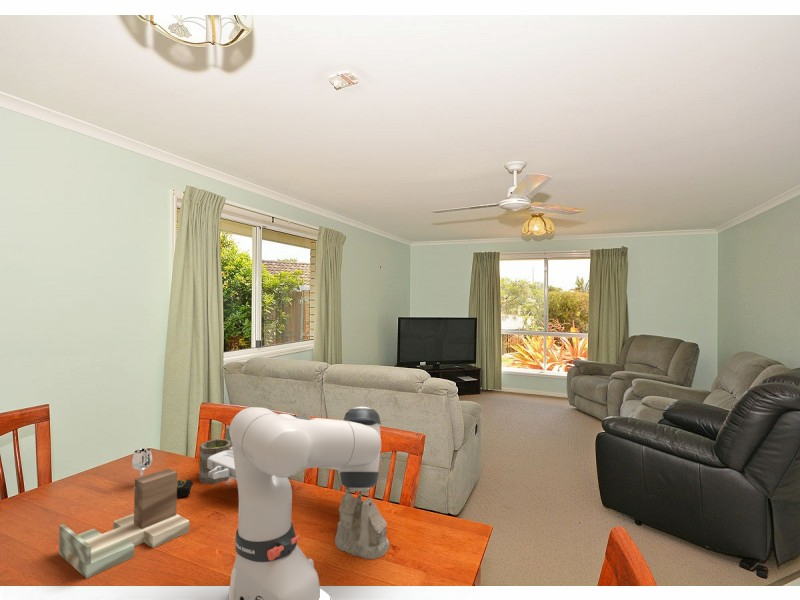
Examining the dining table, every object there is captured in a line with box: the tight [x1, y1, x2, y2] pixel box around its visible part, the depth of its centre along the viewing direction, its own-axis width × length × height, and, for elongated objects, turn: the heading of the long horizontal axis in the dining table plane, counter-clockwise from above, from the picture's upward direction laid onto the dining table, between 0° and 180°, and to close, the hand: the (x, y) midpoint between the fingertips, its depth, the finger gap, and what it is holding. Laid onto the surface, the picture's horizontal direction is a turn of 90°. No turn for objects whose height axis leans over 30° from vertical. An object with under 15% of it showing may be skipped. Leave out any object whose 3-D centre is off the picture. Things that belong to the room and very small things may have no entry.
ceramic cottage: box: [334, 488, 390, 560], centre depth 115 cm, size 16×16×15 cm
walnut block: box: [133, 468, 178, 529], centre depth 116 cm, size 4×9×12 cm, turn 146°
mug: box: [198, 438, 233, 485], centre depth 153 cm, size 16×11×12 cm
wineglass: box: [131, 447, 153, 490], centre depth 143 cm, size 6×6×12 cm
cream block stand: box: [58, 513, 190, 580], centre depth 110 cm, size 16×24×7 cm, turn 146°
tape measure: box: [177, 479, 194, 498], centre depth 138 cm, size 7×7×4 cm
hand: (210, 475), depth 130 cm, fingers closed
